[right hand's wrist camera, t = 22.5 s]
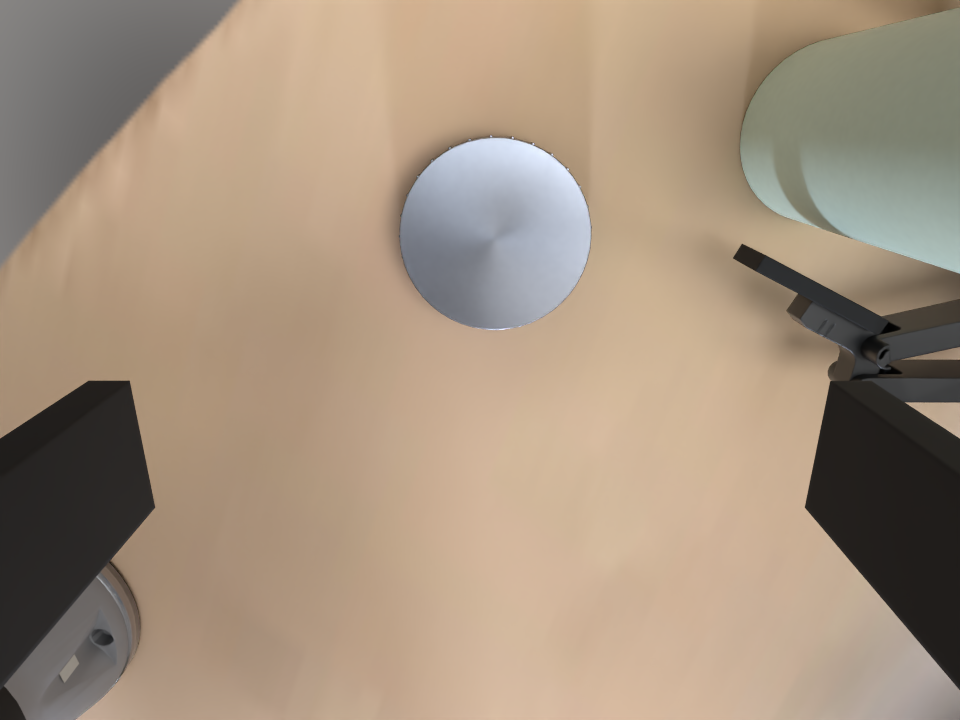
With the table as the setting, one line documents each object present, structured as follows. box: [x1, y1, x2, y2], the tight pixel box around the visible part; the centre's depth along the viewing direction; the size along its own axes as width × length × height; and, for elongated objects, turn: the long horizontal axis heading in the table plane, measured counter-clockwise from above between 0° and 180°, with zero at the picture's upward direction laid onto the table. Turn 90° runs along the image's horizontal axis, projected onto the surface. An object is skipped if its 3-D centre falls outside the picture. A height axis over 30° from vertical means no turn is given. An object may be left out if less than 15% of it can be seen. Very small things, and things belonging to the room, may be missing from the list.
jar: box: [740, 7, 960, 274], centre depth 24 cm, size 9×9×18 cm
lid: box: [399, 135, 592, 330], centre depth 34 cm, size 10×10×2 cm
